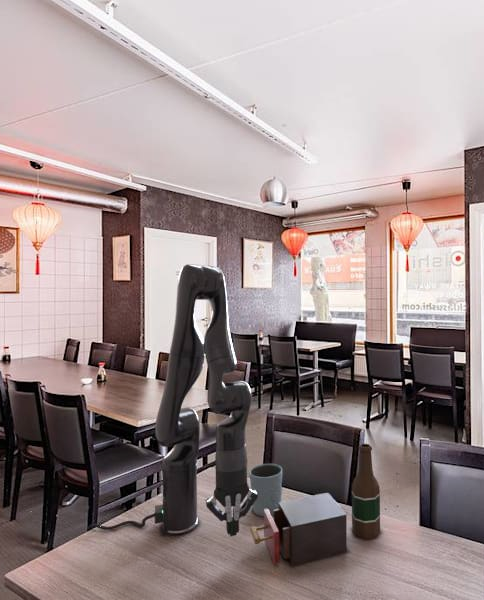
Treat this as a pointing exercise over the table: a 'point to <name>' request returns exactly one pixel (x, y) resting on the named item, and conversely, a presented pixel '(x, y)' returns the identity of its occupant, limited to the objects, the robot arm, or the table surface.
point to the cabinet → (315, 527)
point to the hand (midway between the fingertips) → (232, 534)
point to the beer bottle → (365, 497)
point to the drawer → (275, 534)
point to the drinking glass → (266, 487)
